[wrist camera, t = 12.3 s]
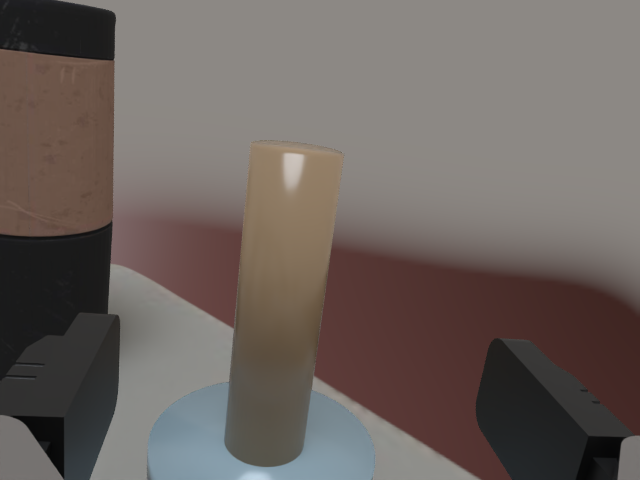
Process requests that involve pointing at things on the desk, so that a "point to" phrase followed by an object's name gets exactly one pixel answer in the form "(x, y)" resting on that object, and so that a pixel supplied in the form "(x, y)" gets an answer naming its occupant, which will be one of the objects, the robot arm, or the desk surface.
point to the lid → (272, 343)
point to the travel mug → (54, 168)
